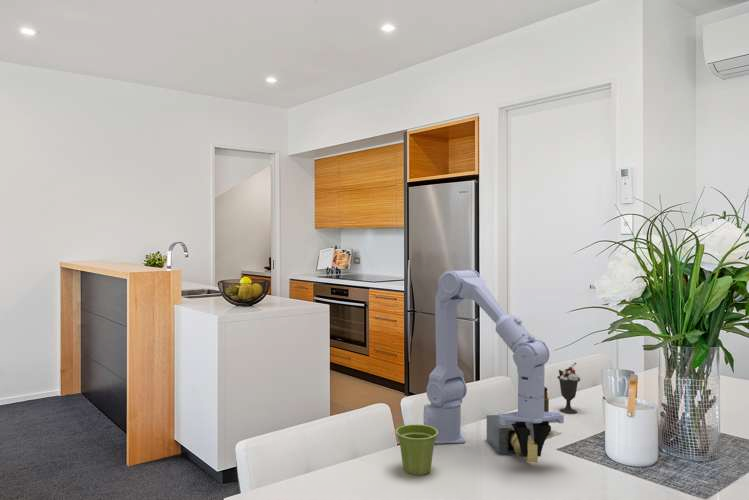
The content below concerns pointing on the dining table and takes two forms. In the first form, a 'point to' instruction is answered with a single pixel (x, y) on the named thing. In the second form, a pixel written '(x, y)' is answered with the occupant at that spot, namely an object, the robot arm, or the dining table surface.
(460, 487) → the dining table surface
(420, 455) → the plant pot
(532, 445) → the gold stepped cylinder
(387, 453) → the dining table surface
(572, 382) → the sundae
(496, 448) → the housing
